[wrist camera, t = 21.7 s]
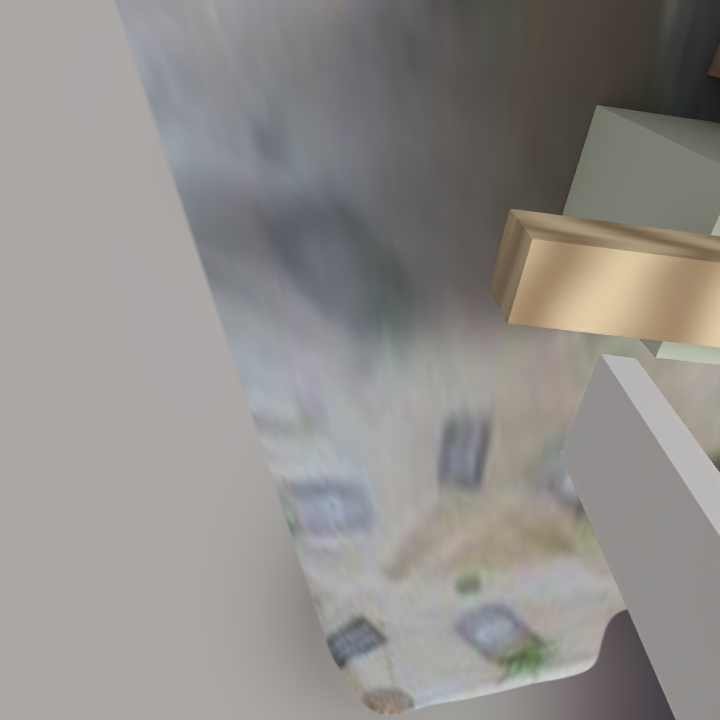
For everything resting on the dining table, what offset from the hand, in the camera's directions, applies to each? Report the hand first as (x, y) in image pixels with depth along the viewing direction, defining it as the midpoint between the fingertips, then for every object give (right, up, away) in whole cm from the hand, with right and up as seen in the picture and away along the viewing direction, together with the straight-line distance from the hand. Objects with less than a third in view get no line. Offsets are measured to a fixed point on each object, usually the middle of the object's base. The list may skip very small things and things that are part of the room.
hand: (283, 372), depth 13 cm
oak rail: (+22, +4, +19) cm, 29 cm away
